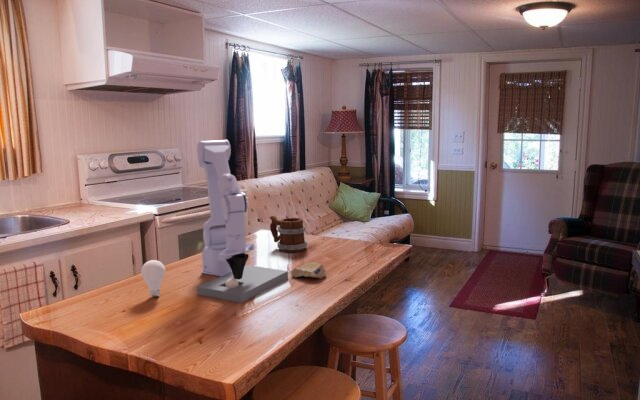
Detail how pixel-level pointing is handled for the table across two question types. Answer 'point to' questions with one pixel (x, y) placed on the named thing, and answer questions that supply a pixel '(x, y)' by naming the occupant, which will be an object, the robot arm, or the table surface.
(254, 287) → the plate
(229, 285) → the ball
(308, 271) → the stone
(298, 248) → the mug
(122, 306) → the table surface
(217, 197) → the robot arm
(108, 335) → the table surface
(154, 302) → the table surface
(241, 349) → the table surface
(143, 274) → the light bulb
